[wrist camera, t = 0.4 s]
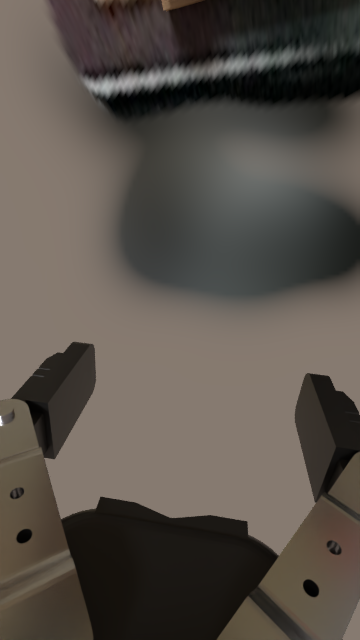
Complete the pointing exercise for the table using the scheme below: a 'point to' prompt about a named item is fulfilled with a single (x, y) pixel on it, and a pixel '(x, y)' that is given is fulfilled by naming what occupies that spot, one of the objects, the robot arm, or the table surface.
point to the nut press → (177, 3)
